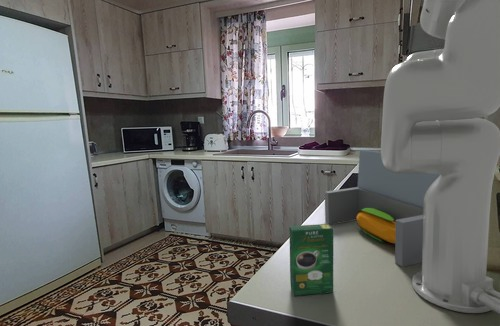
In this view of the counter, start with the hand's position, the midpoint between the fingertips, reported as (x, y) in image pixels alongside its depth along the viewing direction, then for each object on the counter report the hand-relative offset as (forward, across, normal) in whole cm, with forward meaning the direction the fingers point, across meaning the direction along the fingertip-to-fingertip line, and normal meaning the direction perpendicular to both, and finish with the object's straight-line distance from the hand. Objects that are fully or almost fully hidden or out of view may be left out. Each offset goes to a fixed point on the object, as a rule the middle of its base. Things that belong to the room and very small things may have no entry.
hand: (421, 174), depth 80 cm
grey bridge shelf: (+16, +14, -2) cm, 21 cm away
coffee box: (+16, +42, +15) cm, 47 cm away
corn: (+16, +13, +1) cm, 21 cm away
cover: (0, +7, -1) cm, 7 cm away
